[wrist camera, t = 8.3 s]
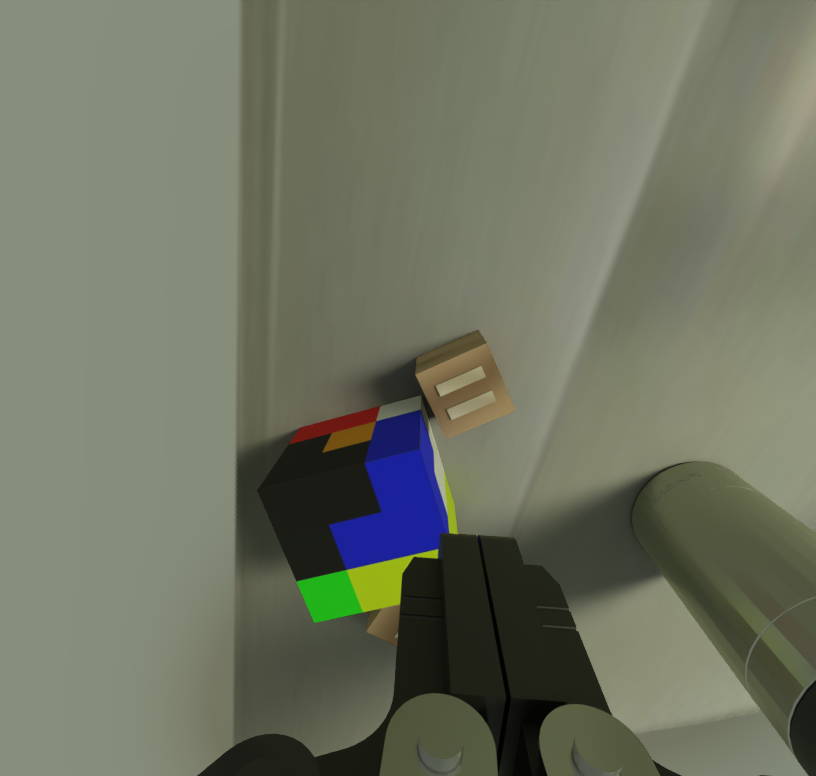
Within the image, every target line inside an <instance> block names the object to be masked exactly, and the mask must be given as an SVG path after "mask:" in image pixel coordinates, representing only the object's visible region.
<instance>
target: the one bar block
mask: <svg viewBox="0 0 816 776" xmlns="http://www.w3.org/2000/svg"><path fill="white" fill-rule="evenodd" d="M399 613H400V604H399V605H395V606H390V607H385V608H381V609H376V610H372V611H369V616H368V622H367V629H366V632H367V633H369V634H371V635H374V636H376V637H378V638H380V639H382V640H384V641H386V642H388V643H390V644H392V645H394V646H396V647H397V641H398V627H399Z"/></svg>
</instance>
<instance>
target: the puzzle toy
mask: <svg viewBox="0 0 816 776" xmlns="http://www.w3.org/2000/svg"><path fill="white" fill-rule="evenodd" d="M257 491H258V493H259V495H260V498H261V500H262V502H263V505H264V507H265V509H266V512H267V514H268V516H269V519H270V521H271V523H272V526H273V528H274V530H275V533H276V535H277V537H278V540H279V542H280V544H281V547H282V549H283V551H284V553H285V556H286V558H287V560H288V563H289V565H290V567H291V570H292V572H293V574H294V577H295V579H296V581H297V584H298V586H299V588H300V591H301V593H302V595H303V598H304V600H305V602H306V605H307V607H308V609H309V612H310V614H311V616H312V619H313V621H314V623H316V622H321V621H325V620H330V619H335V618H339V617H344V616H348V615H353V614H358V613H362V612H367V611H372V610H376V609H381V608H385V607H390V606H395V605H399V604H400V598H401V584H402V573H403V572H404V570H405V569H406V568H407V566H408V565H409V563H410V562H411V560H412V559H413V557H423V558H437V559H438V548H439V538H440V533H452V534H458V532H457V524H456V515H455V506H454V503H453V499H452V496H451V493H450V489H449V486H448V483H447V479H446V476H445V473H444V469H443V466H442V463H441V459H440V456H439V453H438V449H437V446H436V443H435V439H434V436H433V433H432V429H431V426H430V423H429V419H428V416H427V413H426V409H425V406H424V403H423V399H422V396H421V395H420V396H416V397H413V398H409V399H405V400H402V401H398V402H394V403H390V404H387V405H383V406H379V407H376V408H372V409H368V410H364V411H361V412H357V413H353V414H350V415H346V416H342V417H338V418H335V419H331V420H327V421H324V422H320V423H316V424H312V425H309V426H305V427H301V428H300V429H299V431H298V432H297V434H296V435H295V436H294V438H293V439H292V441H291V442H290V444H289V445H288V447H287V448H286V449H285V451H284V452H283V454H282V455H281V457H280V458H279V460H278V461H277V463H276V464H275V465H274V467H273V468H272V470H271V471H270V473H269V474H268V476H267V477H266V478H265V480H264V481H263V483H262V484H261V486H260V487H259V489H258V490H257Z"/></svg>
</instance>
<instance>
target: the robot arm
mask: <svg viewBox="0 0 816 776" xmlns="http://www.w3.org/2000/svg"><path fill="white" fill-rule="evenodd" d="M632 525H633V531H634V533H635V535H636V537H637V540H638V541H639V543H640V544H641V545H642V547H643V548H644V549H645V551H646V552H647V554H648V555H649V556H650V558H651V559H652V560H653V562H654V563H655V565H656V566H657V567H658V569H659V570H660V572H661V573H662V575H663V576H664V577H665V579H666V580H667V582H668V583H669V584H670V586H671V587H672V588H673V590H674V591H675V593H676V594H677V595H678V597H679V598H680V599H681V601H682V602H683V604H684V605H685V606H686V608H687V609H688V610H689V612H690V613H691V615H692V616H693V617H694V619H695V620H696V622H697V623H698V624H699V626H700V627H701V628H702V630H703V631H704V633H705V634H706V635H707V637H708V638H709V639H710V641H711V642H712V644H713V645H714V646H715V648H716V649H717V651H718V652H719V653H720V655H721V656H722V657H723V659H724V660H725V662H726V663H727V664H728V666H729V667H730V668H731V670H732V671H733V673H734V674H735V675H736V677H737V678H738V679H739V681H740V682H741V684H742V685H743V686H744V688H745V689H746V691H747V692H748V693H749V695H750V696H751V697H752V699H753V700H754V702H755V703H756V704H757V705H758V707H759V708H760V709H761V711H762V712H763V713H764V715H765V716H766V718H767V719H768V720H769V722H770V723H771V724H772V726H773V727H774V728H775V730H776V731H777V733H778V734H779V736H780V737H781V738H782V740H783V741H784V742H785V744H786V745H787V747H788V748H789V749H790V751H791V752H792V753H793V755H794V756H795V758H796V759H797V760H798V762H799V763H800V765H801V766H802V767H803V769H804V770H805V771H806V773H807V774H808V775H809V776H816V533H815V532H814V531H812V530H811V529H809V528H808V527H807V526H805V525H804V524H803V523H801V522H800V521H799V520H797V519H796V518H794V517H793V516H792V515H790V514H789V513H788V512H786V511H785V510H783V509H782V508H781V507H779V506H778V505H777V504H775V503H774V502H773V501H771V500H770V499H769V498H767V497H766V496H765V495H763V494H762V493H761V492H759V491H758V490H757V489H755V488H754V487H752V486H751V485H750V484H748V483H747V482H746V481H744V480H743V479H741V478H740V477H739V476H737V475H736V474H735V473H733V472H732V471H730V470H728V469H726V468H724V467H722V466H720V465H717V464H713V463H709V462H691V463H684V464H681V465H677V466H674V467H671V468H669V469H667V470H665V471H664V472H662V473H660V474H658V475H657V476H656V477H655V478H653V479H652V480H651V481H649V483H648V484H647V485H646V486H645V487H644V488H643V489H642V491H641V492H640V494H639V496H638V498H637V499H636V501H635V505H634V508H633V511H632ZM568 608H569V607H568V605H567V602H566V600H565V597H564V595H563V592H562V590H561V587H560V585H559V584H558V583H557V582H556V581H555V580H554V579H553V578H552V576H551V575H550V574H549V573H548V572H547V571H546V570H545V569H544V568H543V567H542V566H536V565H524V564H523V560H522V557H521V554H520V551H519V548H518V544H517V542H516V539H515V538H510V537H496V536H482V535H478V537H477V536H476V535H466V534H452V533H440V538H439V548H438V559H437V558H423V557H413V559H412V560H411V562H410V563H409V565H408V566H407V568H406V569H405V570H404V572H403V573H402V584H401V598H400V613H399V627H398V641H397V656H396V670H395V685H394V696H393V702H392V705H391V708H390V711H389V713H388V715H387V717H386V718H385V720H384V721H383V723H382V724H381V725H380V727H379V728H378V729H377V730H376V731H375V732H374V733H373V734H372V735H370V736H369V737H368V738H366V739H365V740H363V741H361V742H360V743H358V744H356V745H354V746H351V747H348V748H346V749H342V750H339V751H335V752H332V753H328V754H325V755H321V756H318V757H314V756H313V755H312V753H311V752H310V751H309V749H308V748H307V747H306V746H304V745H303V744H302V743H301V742H299V741H298V740H296V739H294V738H292V737H289V736H286V735H280V734H264V735H260V736H255V737H252V738H250V739H247V740H244V741H243V742H241V743H239V744H237V745H235V746H234V747H232V748H231V749H230V750H228V751H227V752H225V753H224V754H223V755H222V756H221V757H219V758H218V759H217V760H216V761H215V762H214V763H212V764H211V765H210V766H208V767H207V768H206V769H205V770H204V771H203V772H201V773H200V774H199V775H198V776H681V775H679V774H677V773H675V772H672V771H670V770H668V769H666V768H664V767H663V766H661V765H660V764H658V763H656V762H655V761H653V760H652V759H651V757H650V755H649V753H648V752H647V750H646V749H645V747H644V745H643V744H642V743H641V742H640V740H639V739H638V737H636V735H635V734H634V733H633V732H632V731H631V730H630V729H629V728H628V727H627V726H625V725H624V724H623V723H622V722H621V721H619V720H618V719H616V718H615V717H613V716H612V714H611V712H610V710H609V707H608V705H607V702H606V700H605V697H604V695H603V692H602V690H601V687H600V685H599V682H598V680H597V677H596V675H595V672H594V670H593V667H592V665H591V662H590V660H589V657H588V655H587V652H586V650H585V647H584V645H583V642H582V640H581V637H580V635H579V632H578V631H576V625H575V622H574V620H573V617H572V615H571V612H569V610H568ZM760 776H763V775H760Z"/></svg>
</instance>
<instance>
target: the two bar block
mask: <svg viewBox="0 0 816 776" xmlns="http://www.w3.org/2000/svg"><path fill="white" fill-rule="evenodd" d="M415 375H416V377H417V379H418V381H419V383H420V385H421V388H422V390H423V392H424V394H425V396H426V398H427V400H428V402H429V404H430V406H431V408H432V410H433V412H434V415H435V417H436V419H437V421H438V423H439V425H440V427H441V429H442V431H443V433H444V435H445V437H446V439H449V438H451V437H453V436H456V435H458V434H461V433H463V432H466V431H468V430H470V429H473V428H475V427H478V426H480V425H482V424H485V423H487V422H490V421H492V420H494V419H497V418H499V417H502V416H504V415H506V414H509V413H511V412H514V411H516V410H515V408H514V405H513V403H512V401H511V398H510V396H509V394H508V391H507V389H506V387H505V384H504V382H503V380H502V377H501V375H500V373H499V370H498V368H497V366H496V363H495V361H494V359H493V356H492V354H491V352H490V349H489V347H488V345H487V343H486V341H485V340H484V338H483V336H482V335H481V333H480V332H479V330H477V331H475V332H472V333H470V334H468V335H466V336H464V337H461V338H459V339H457V340H455V341H452V342H450V343H448V344H446V345H444V346H441V347H439V348H437V349H435V350H432V351H430V352H428V353H426V354H424V355H421V356H419V357H417V360H416V373H415Z"/></svg>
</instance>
